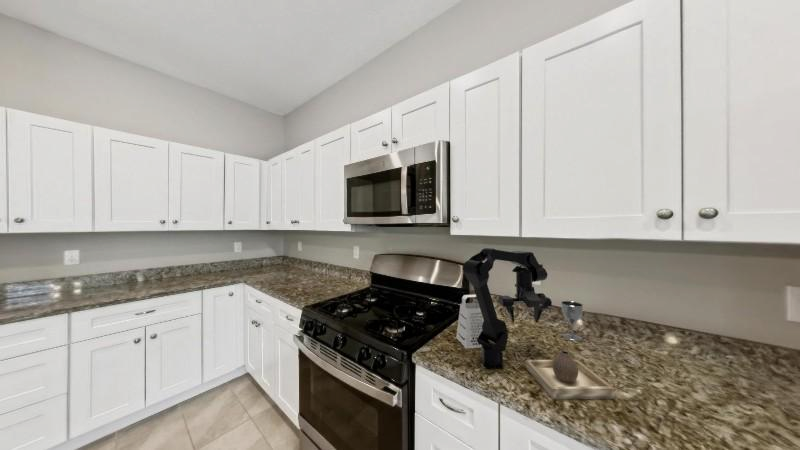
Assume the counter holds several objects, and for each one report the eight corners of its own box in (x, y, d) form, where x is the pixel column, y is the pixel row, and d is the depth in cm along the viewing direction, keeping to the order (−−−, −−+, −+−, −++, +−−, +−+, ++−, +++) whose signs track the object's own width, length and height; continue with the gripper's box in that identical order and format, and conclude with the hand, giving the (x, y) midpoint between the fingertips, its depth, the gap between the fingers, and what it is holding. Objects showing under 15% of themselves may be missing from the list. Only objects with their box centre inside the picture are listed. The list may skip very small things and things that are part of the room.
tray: (552, 399, 74) (552, 388, 74) (525, 368, 90) (525, 360, 90) (614, 398, 74) (614, 388, 74) (576, 368, 90) (576, 359, 90)
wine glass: (586, 341, 110) (586, 306, 110) (566, 340, 112) (565, 305, 112) (577, 333, 118) (577, 301, 118) (558, 332, 120) (558, 300, 120)
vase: (579, 388, 78) (578, 359, 78) (552, 381, 81) (552, 354, 81) (577, 377, 84) (577, 350, 84) (552, 371, 87) (552, 345, 87)
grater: (489, 346, 107) (489, 298, 107) (465, 348, 105) (465, 299, 105) (478, 335, 117) (477, 292, 117) (456, 337, 116) (455, 293, 116)
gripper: (509, 288, 93) (509, 331, 93) (560, 287, 93) (560, 330, 93) (497, 281, 104) (497, 319, 104) (543, 281, 104) (543, 319, 104)
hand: (524, 322), depth 101 cm, fingers open, 9 cm apart
